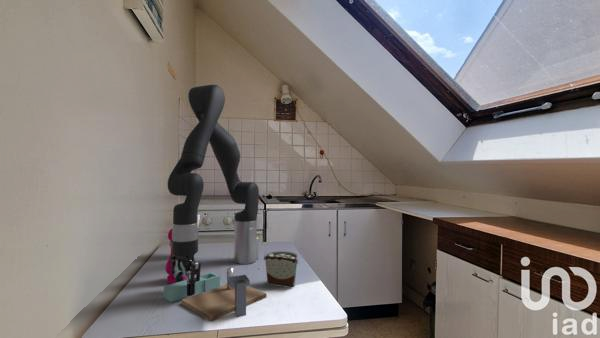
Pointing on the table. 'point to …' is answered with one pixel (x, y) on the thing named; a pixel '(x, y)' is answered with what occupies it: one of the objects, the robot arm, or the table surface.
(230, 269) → the capsule
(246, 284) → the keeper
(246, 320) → the table surface
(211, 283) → the teal bar with hole
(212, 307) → the board
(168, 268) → the pepper mill
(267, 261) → the food container
